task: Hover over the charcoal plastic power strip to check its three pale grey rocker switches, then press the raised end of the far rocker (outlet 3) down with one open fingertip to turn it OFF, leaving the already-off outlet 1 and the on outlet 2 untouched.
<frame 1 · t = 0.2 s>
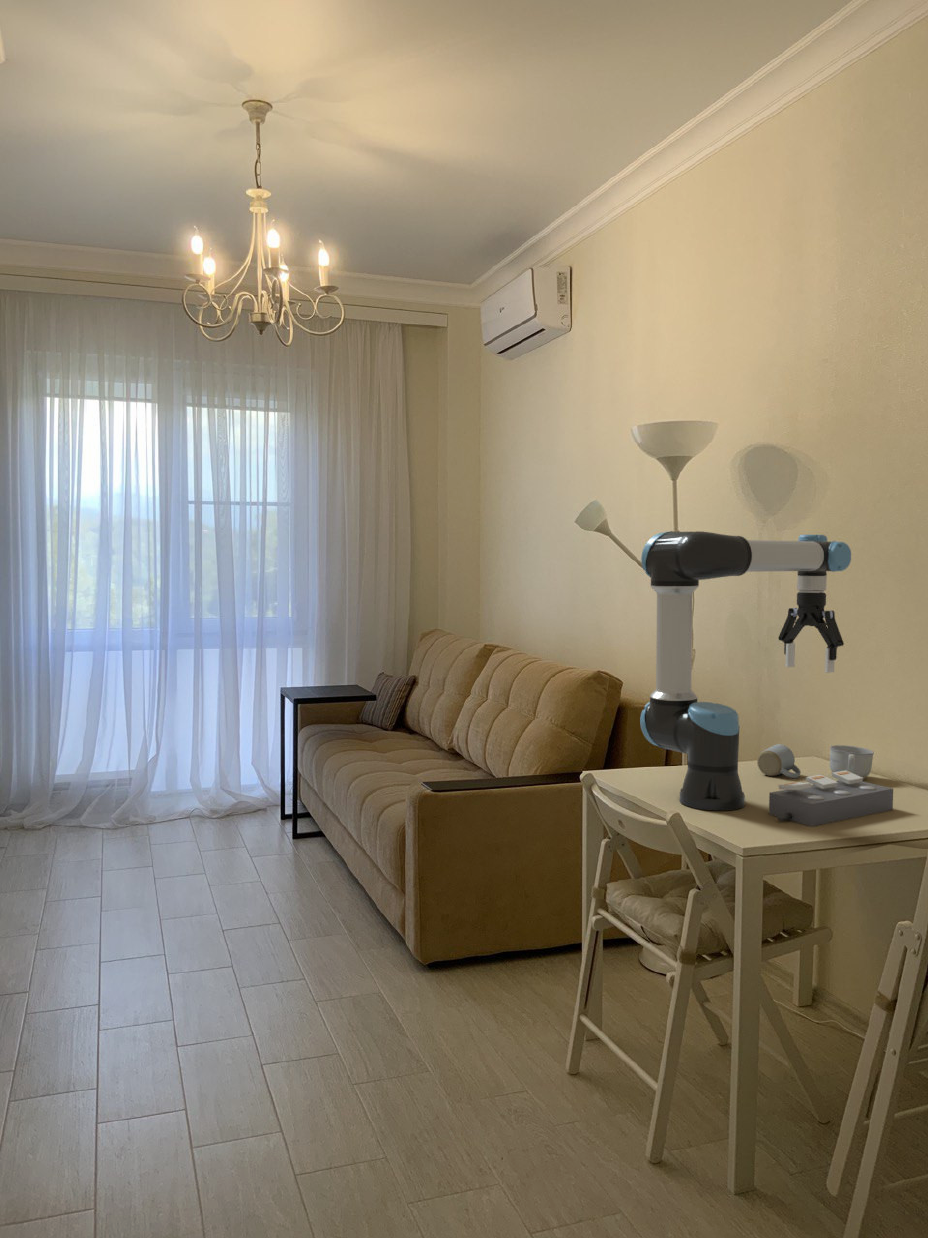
hand: (809, 669, 279), 28 cm above the table, fingers open, 13 cm apart
rocker 1: (795, 786, 234), point 6 cm above the table, hinge at -10.0°
teacup: (849, 780, 270), on the table
rocker 3: (847, 777, 243), point 6 cm above the table, hinge at 10.0°
power strip: (831, 811, 237), on the table
rocker 2: (821, 782, 239), point 6 cm above the table, hinge at 10.0°
ceramic mug: (779, 775, 275), on the table
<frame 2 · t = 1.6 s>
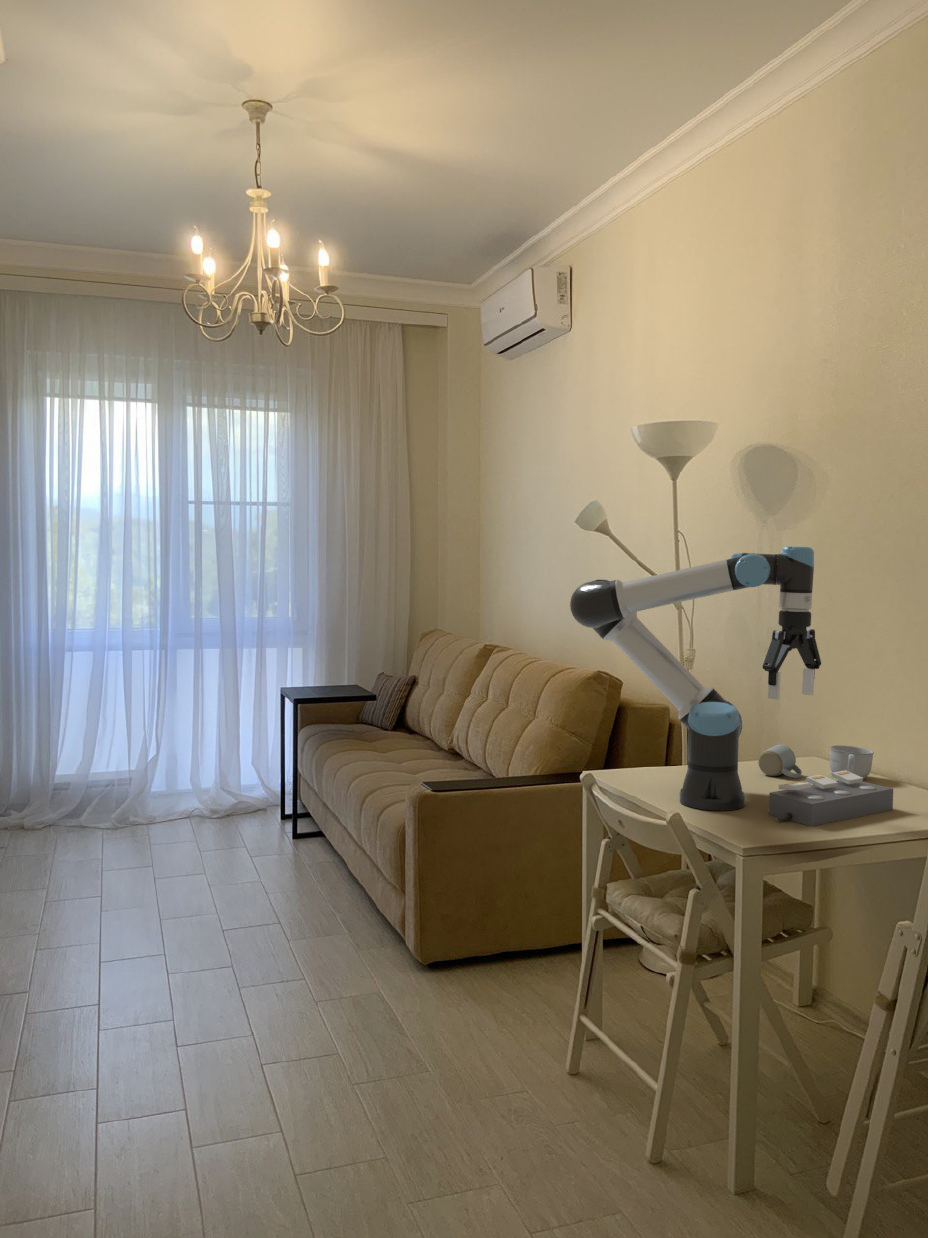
hand: (790, 696, 250), 25 cm above the table, fingers open, 13 cm apart
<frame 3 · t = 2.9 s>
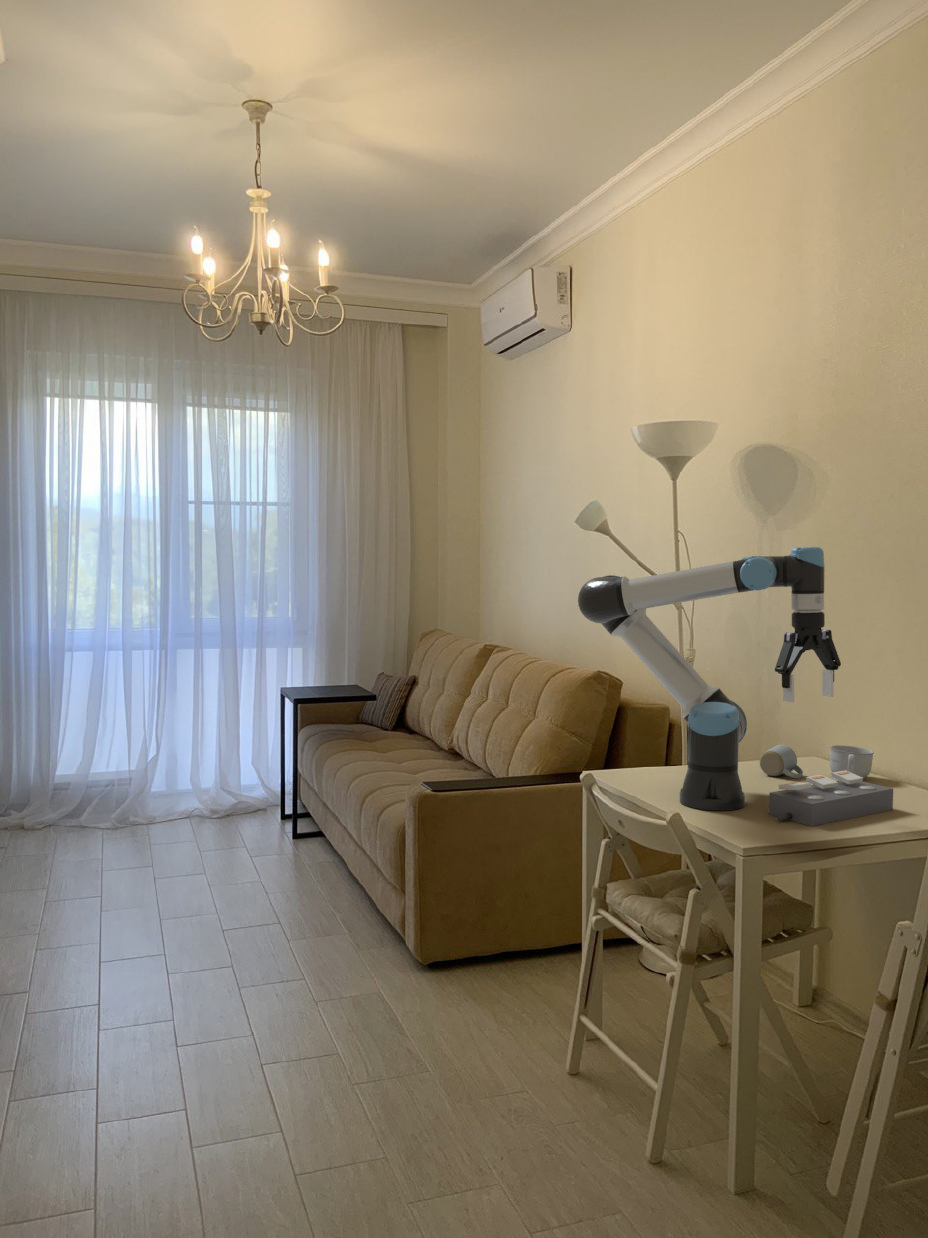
hand: (808, 699, 247), 24 cm above the table, fingers open, 13 cm apart
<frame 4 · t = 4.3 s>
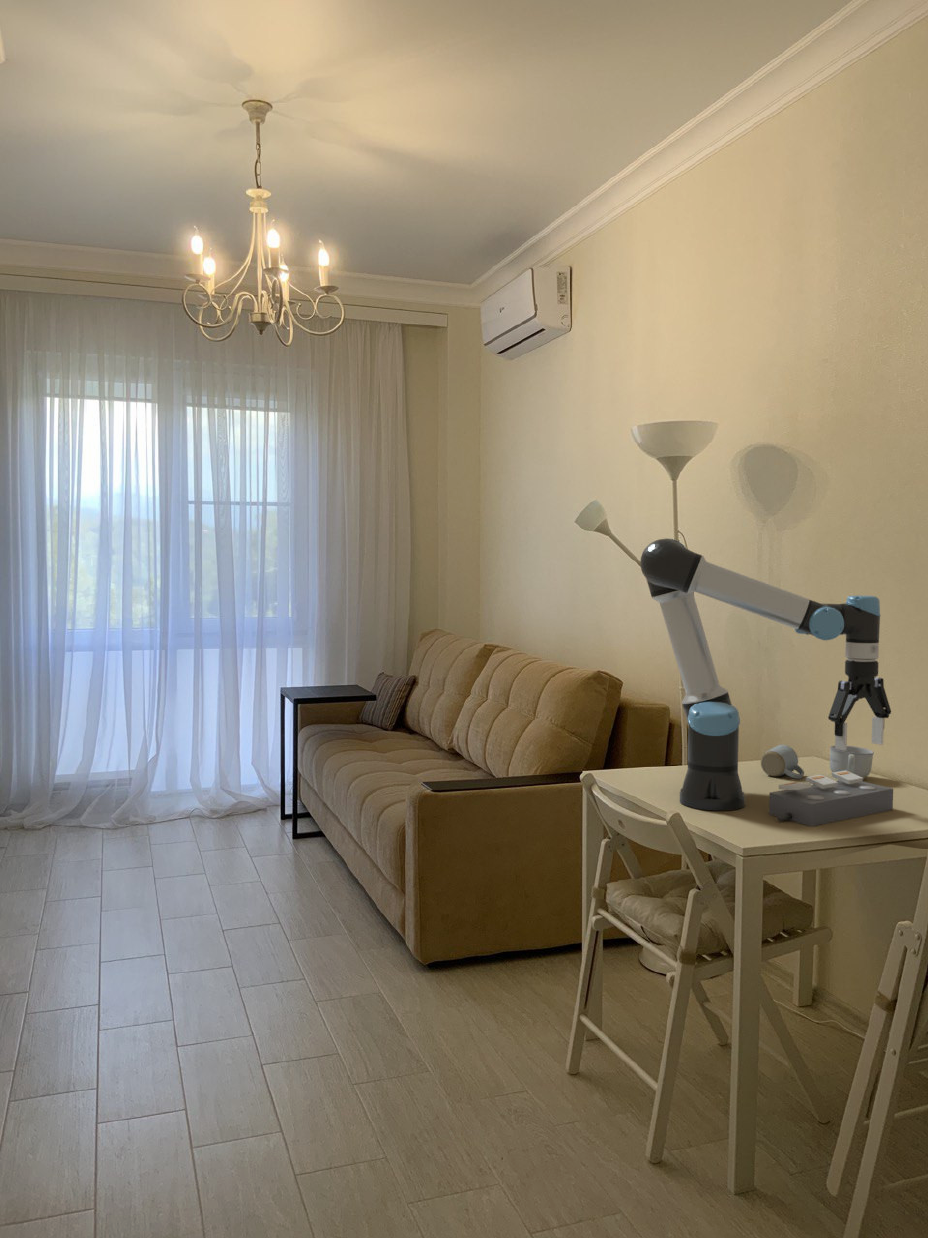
hand: (859, 746, 248), 13 cm above the table, fingers open, 13 cm apart
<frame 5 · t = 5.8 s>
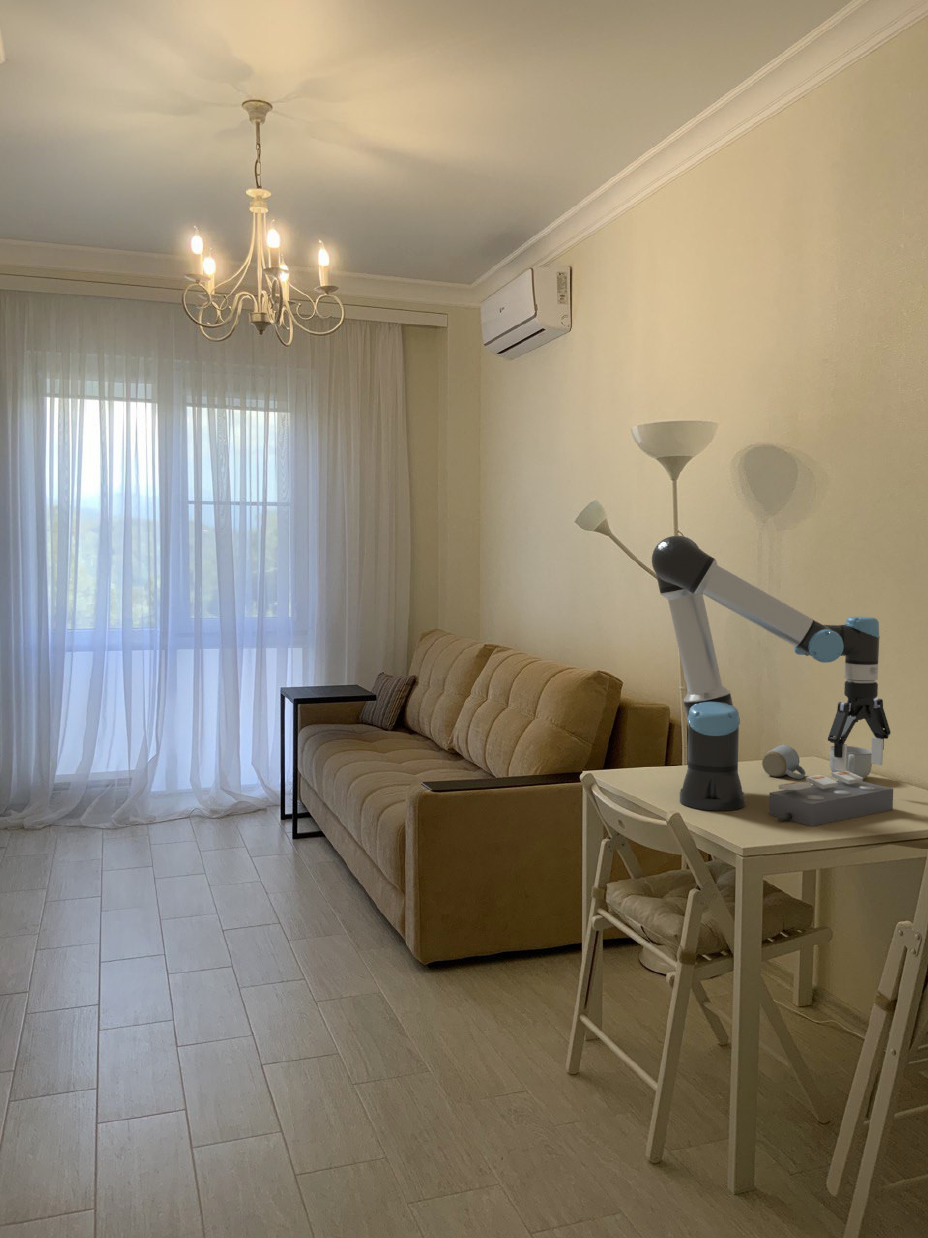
hand: (858, 767, 249), 8 cm above the table, fingers open, 13 cm apart
rocker 3: (847, 777, 243), point 6 cm above the table, hinge at 10.0°, touching gripper
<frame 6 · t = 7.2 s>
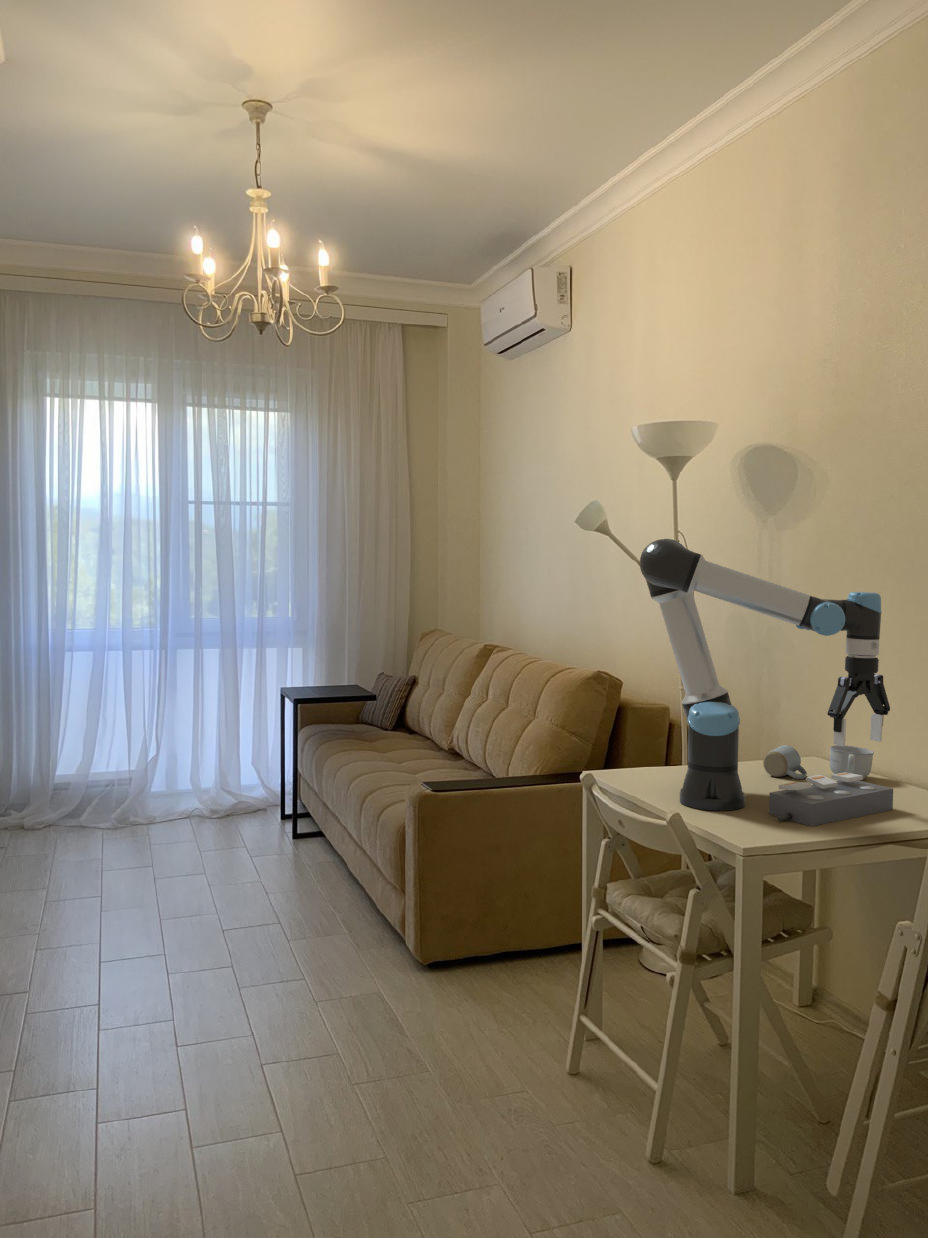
hand: (857, 743, 248), 14 cm above the table, fingers open, 13 cm apart
rocker 3: (846, 777, 243), point 6 cm above the table, hinge at -2.6°
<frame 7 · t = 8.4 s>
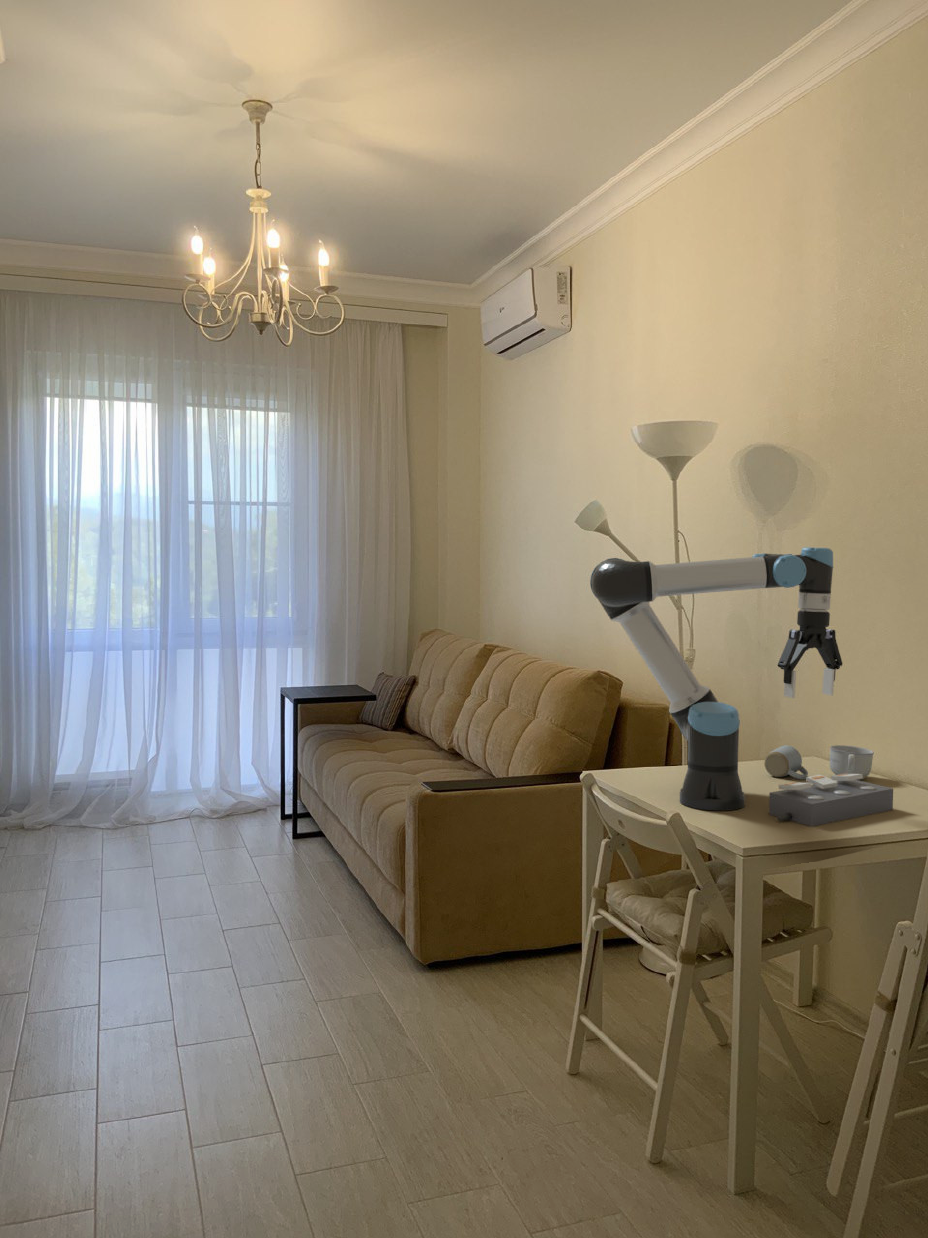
hand: (808, 695, 253), 24 cm above the table, fingers open, 13 cm apart
rocker 3: (846, 777, 243), point 6 cm above the table, hinge at -10.3°
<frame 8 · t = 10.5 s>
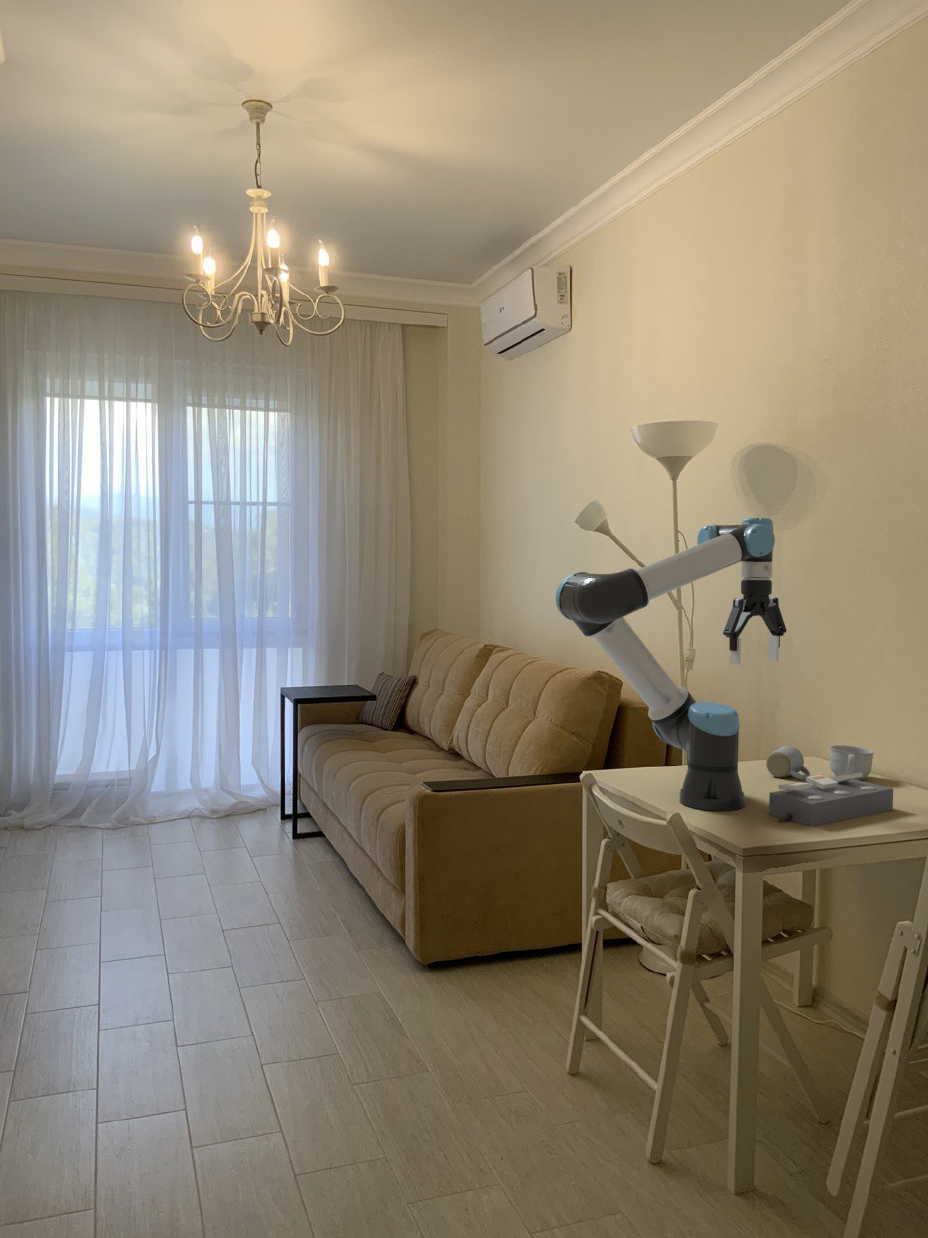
hand: (754, 662, 260), 32 cm above the table, fingers open, 13 cm apart
rocker 3: (846, 777, 243), point 6 cm above the table, hinge at -19.3°
at the end: rocker 3 at -19° (first picture: +10°); rocker 1 at -10° (first picture: -10°); rocker 2 at +10° (first picture: +10°) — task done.
